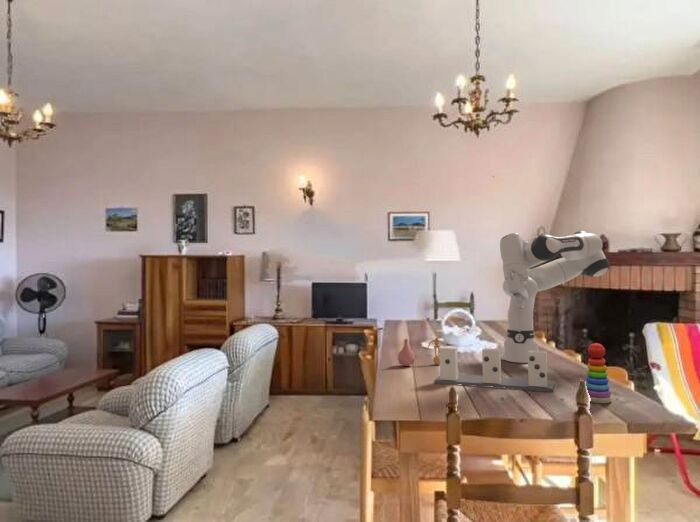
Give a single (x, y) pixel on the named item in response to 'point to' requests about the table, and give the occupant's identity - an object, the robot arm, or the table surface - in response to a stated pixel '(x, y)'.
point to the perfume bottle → (406, 355)
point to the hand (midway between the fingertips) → (521, 308)
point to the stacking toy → (597, 375)
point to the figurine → (436, 358)
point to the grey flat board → (505, 383)
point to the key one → (448, 363)
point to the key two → (491, 365)
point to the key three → (537, 368)
